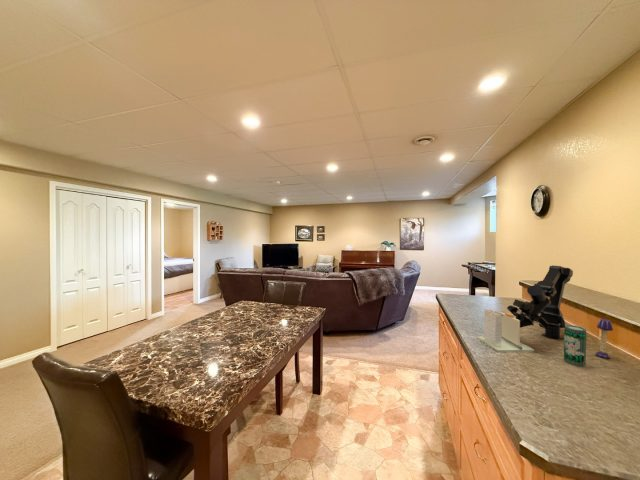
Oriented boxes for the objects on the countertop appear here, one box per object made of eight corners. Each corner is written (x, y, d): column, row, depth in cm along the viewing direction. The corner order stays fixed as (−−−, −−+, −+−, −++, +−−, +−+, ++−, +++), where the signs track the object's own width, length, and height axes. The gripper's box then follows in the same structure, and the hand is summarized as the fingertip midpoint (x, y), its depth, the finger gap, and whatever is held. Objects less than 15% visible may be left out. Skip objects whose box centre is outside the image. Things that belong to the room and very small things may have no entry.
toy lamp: (606, 355, 111) (607, 318, 110) (615, 360, 106) (616, 322, 106) (592, 353, 112) (593, 317, 112) (600, 358, 108) (601, 320, 107)
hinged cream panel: (500, 336, 128) (500, 309, 128) (520, 347, 116) (520, 318, 115) (498, 336, 128) (499, 309, 128) (518, 347, 116) (518, 318, 115)
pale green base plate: (509, 337, 129) (509, 333, 129) (534, 351, 114) (534, 346, 114) (477, 338, 129) (477, 333, 129) (497, 352, 114) (497, 347, 114)
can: (561, 360, 106) (562, 326, 106) (568, 357, 109) (569, 324, 108) (580, 367, 101) (581, 331, 100) (587, 364, 103) (588, 329, 103)
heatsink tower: (493, 339, 126) (493, 309, 125) (504, 346, 118) (505, 315, 117) (484, 339, 126) (484, 309, 125) (495, 346, 118) (495, 315, 117)
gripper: (510, 290, 130) (489, 310, 131) (542, 299, 112) (517, 323, 112) (525, 304, 131) (504, 325, 131) (559, 316, 112) (534, 340, 112)
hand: (513, 328), depth 122 cm, fingers closed
